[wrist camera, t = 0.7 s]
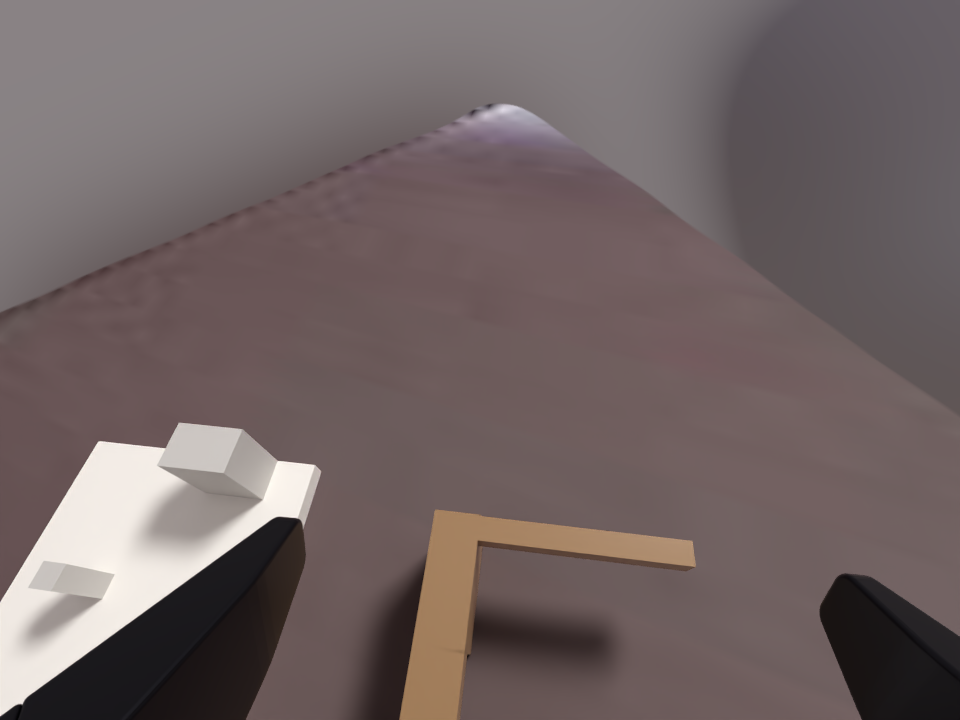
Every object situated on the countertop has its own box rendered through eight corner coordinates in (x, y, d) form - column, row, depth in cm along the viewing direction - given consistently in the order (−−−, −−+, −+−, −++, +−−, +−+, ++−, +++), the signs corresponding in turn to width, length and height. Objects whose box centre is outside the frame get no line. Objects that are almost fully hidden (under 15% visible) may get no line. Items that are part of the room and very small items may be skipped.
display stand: (321, 471, 24) (285, 433, 20) (215, 806, 17) (127, 853, 13) (111, 448, 25) (37, 407, 21) (-69, 754, 18) (-233, 783, 14)
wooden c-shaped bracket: (653, 562, 21) (692, 539, 17) (684, 957, 15) (758, 1075, 11) (446, 537, 22) (435, 509, 18) (390, 900, 16) (353, 989, 12)
